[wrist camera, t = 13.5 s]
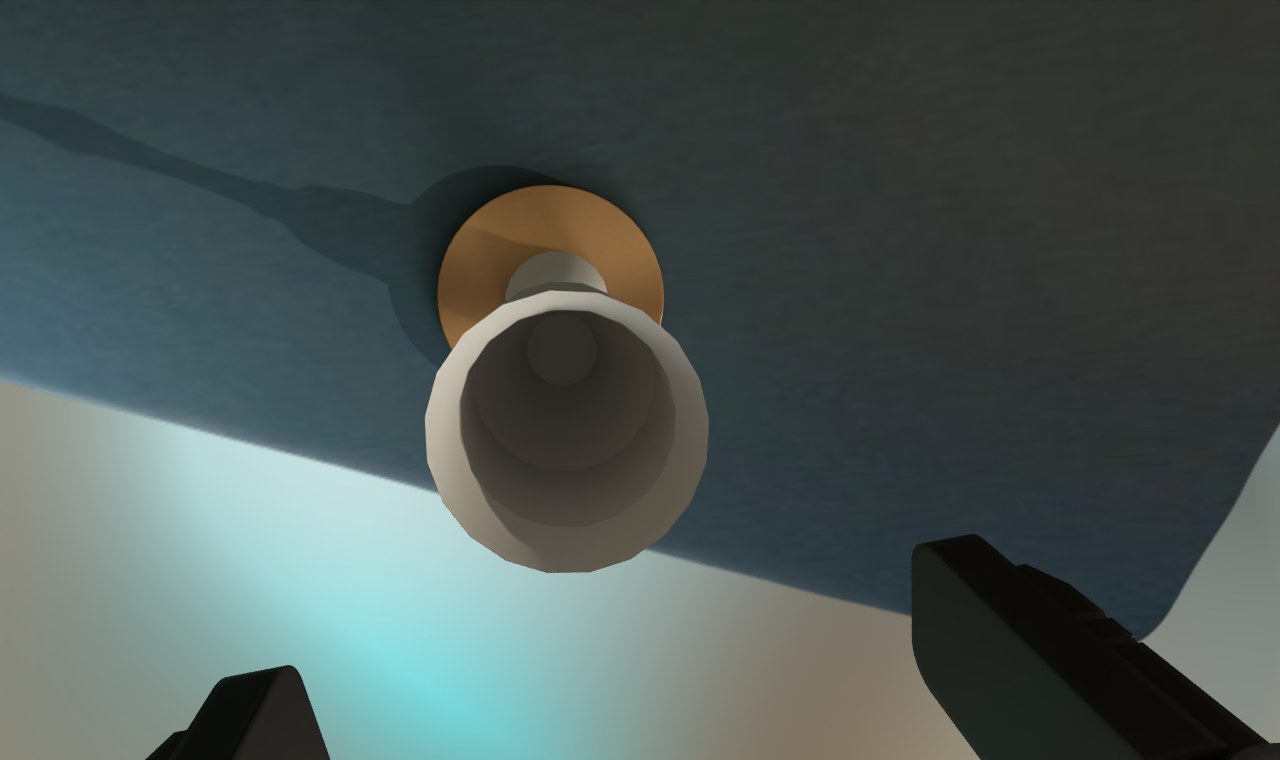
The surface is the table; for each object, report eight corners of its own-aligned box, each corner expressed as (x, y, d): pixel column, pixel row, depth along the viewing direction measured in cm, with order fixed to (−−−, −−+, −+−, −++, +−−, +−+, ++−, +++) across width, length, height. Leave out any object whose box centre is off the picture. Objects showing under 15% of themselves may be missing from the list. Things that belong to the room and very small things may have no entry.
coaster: (415, 202, 32) (412, 203, 31) (646, 169, 33) (648, 169, 32) (465, 420, 35) (464, 425, 35) (674, 384, 36) (676, 388, 36)
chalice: (633, 365, 35) (719, 551, 18) (499, 383, 34) (456, 594, 17) (618, 219, 33) (697, 272, 16) (474, 235, 32) (394, 309, 15)
